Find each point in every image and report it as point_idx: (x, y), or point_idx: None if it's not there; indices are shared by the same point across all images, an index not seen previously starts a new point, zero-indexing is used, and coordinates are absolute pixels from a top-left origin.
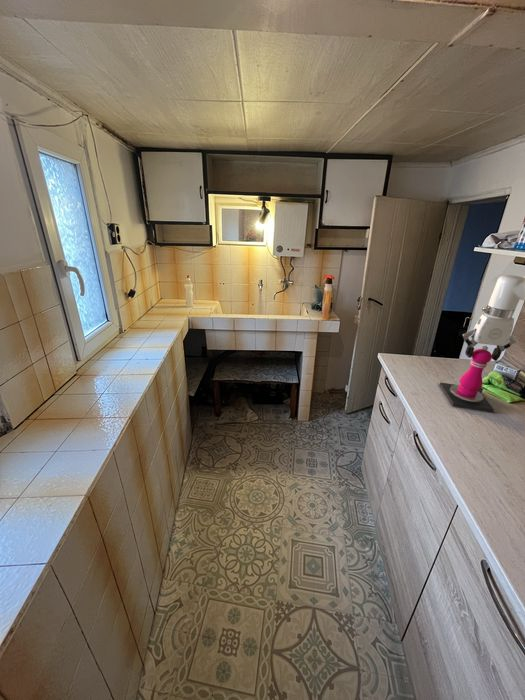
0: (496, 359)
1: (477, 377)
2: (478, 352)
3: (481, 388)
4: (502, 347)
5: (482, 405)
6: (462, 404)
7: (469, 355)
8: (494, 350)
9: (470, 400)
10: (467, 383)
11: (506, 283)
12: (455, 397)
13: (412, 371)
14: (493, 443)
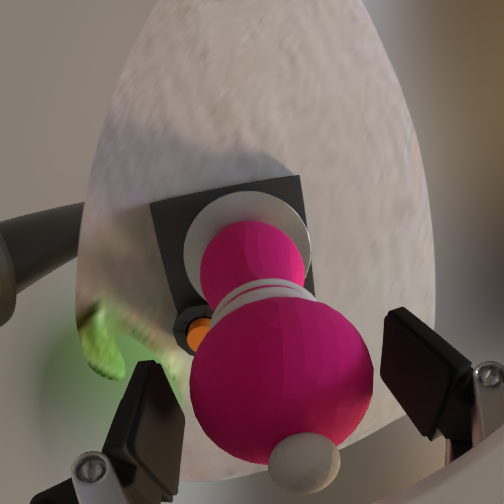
0: (144, 367)
1: (246, 254)
2: (362, 377)
3: (178, 334)
4: (94, 498)
5: (187, 214)
6: (265, 181)
7: (412, 318)
8: (172, 473)
9: (242, 191)
10: (281, 232)
11: None
12: None
13: (377, 366)
14: (205, 19)
